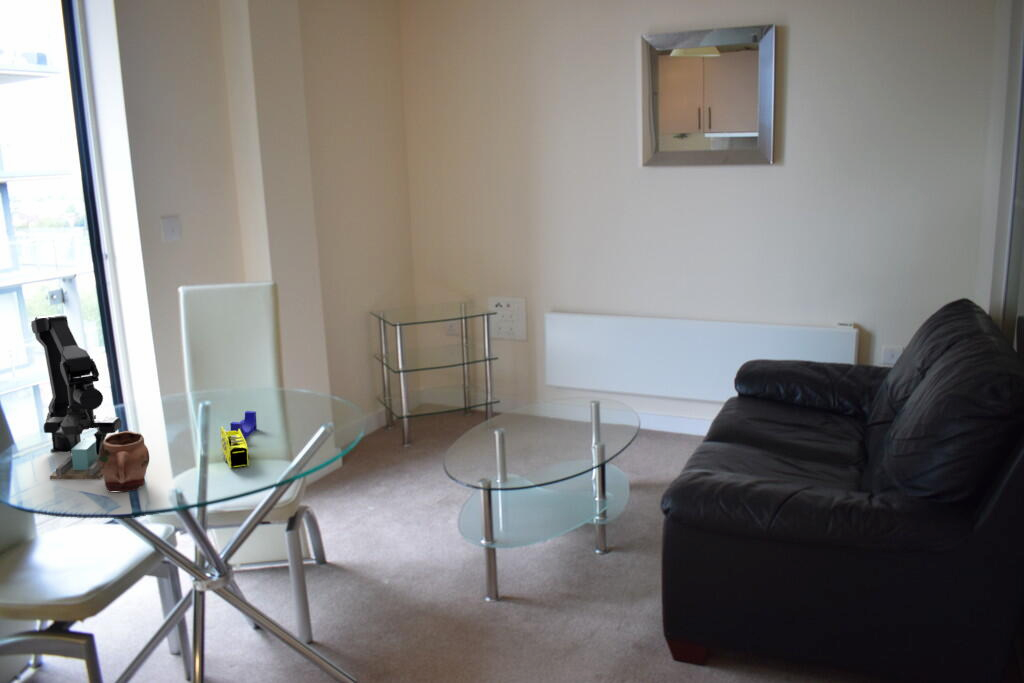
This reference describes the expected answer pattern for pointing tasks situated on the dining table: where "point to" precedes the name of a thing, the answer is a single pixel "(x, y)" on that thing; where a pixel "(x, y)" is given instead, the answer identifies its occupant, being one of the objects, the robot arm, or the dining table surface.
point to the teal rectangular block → (84, 454)
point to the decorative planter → (123, 461)
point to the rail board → (76, 471)
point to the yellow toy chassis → (234, 448)
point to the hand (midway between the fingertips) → (85, 454)
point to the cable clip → (246, 424)
